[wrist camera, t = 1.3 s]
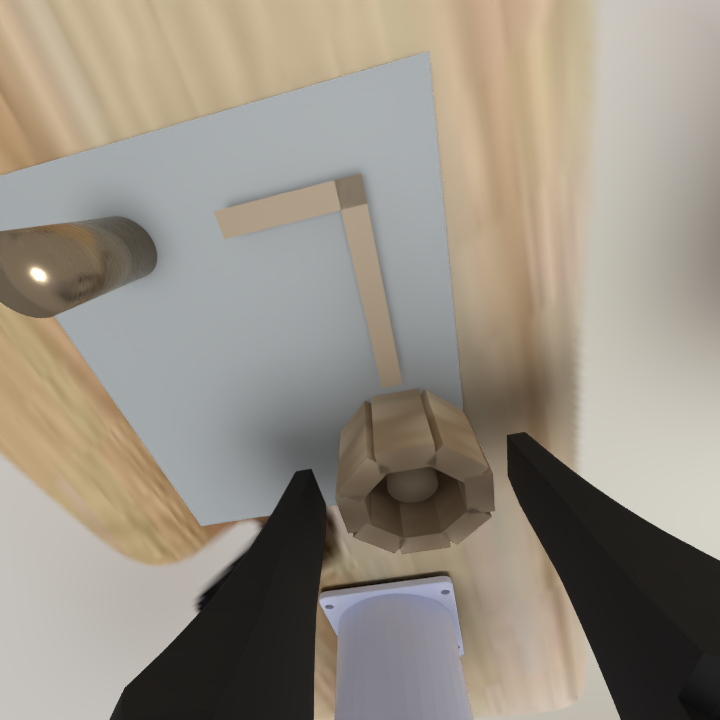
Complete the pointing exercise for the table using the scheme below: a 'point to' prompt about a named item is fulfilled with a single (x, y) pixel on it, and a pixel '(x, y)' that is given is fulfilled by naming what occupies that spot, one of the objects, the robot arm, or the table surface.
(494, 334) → the table surface
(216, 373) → the board
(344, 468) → the ring
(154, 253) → the end peg
